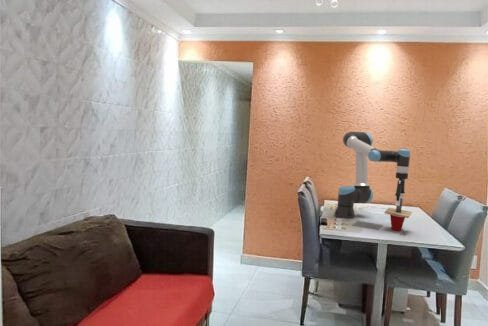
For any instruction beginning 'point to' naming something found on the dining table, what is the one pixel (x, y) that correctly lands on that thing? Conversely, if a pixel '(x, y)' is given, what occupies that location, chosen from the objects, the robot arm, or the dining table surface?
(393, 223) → the plastic cup
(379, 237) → the dining table surface
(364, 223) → the mat
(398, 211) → the lid
